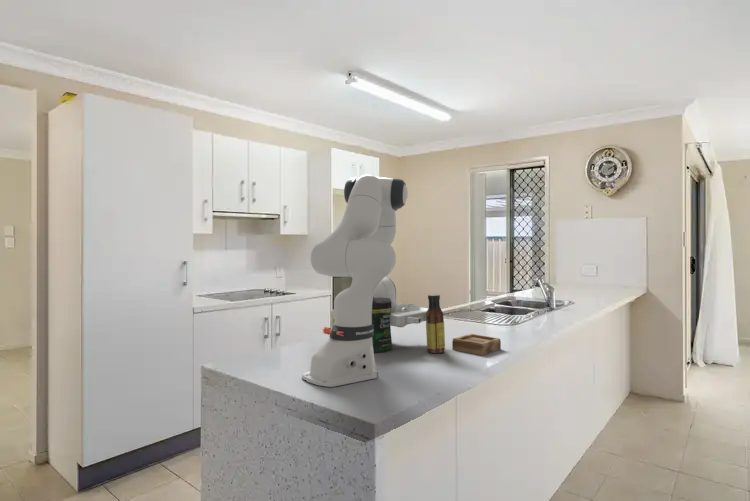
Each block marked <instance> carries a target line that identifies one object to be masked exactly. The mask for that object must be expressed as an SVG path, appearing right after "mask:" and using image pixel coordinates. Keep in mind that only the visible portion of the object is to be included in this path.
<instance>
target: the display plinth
mask: <svg viewBox="0 0 750 501" xmlns="http://www.w3.org/2000/svg"><path fill="white" fill-rule="evenodd" d="M501 345H502V344H501V338H499V337H493V336H487V335H481V334H477V333H475V334H474V333H469V334H466V335H462V336H459V337H458V336H457V337H453V338H452V350H454V351H458V352H462V353H463V352H464V353H468V354H469V353H470V354H474V355H477V356H484V355H488V354H490V352H491V353H493V351H494V352H496V350H497V351H499V349H500V350H501V349H502V348H501V347H502V346H501Z"/></svg>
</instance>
